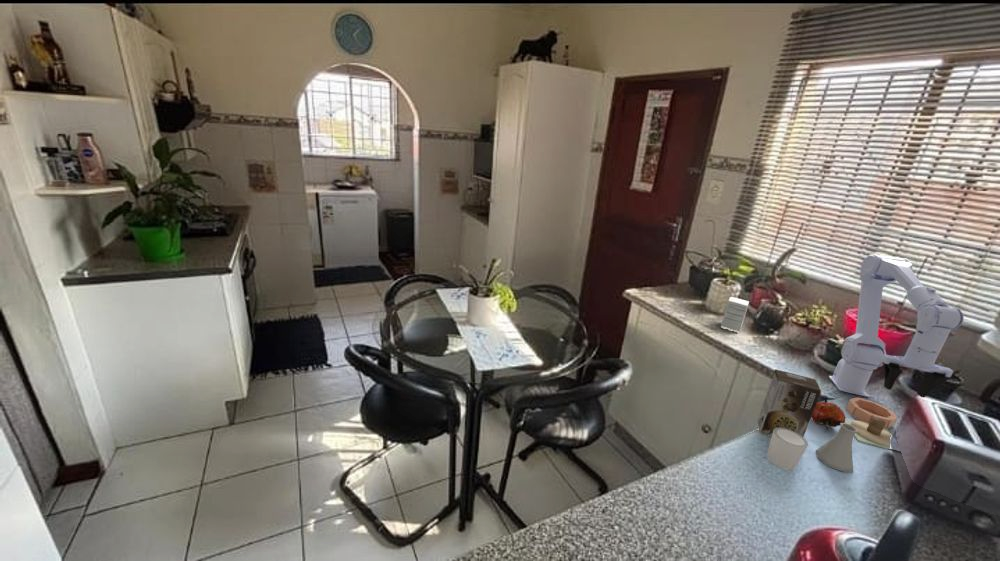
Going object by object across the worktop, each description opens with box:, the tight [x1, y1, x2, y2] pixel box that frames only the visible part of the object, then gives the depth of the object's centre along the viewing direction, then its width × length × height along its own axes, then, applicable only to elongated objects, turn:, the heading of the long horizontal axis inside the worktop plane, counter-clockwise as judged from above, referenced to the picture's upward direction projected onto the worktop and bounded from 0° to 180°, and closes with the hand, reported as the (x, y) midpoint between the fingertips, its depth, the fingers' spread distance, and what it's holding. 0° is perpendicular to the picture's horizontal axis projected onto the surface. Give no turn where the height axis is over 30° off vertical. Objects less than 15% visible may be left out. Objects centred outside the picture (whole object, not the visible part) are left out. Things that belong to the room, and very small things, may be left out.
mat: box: [845, 417, 891, 450], centre depth 111 cm, size 10×10×1 cm
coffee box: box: [756, 369, 822, 438], centre depth 105 cm, size 9×6×16 cm
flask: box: [815, 423, 858, 473], centre depth 97 cm, size 7×7×10 cm
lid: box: [851, 417, 892, 446], centre depth 110 cm, size 9×9×4 cm
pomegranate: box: [811, 398, 846, 434], centre depth 112 cm, size 7×7×10 cm
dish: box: [845, 397, 898, 430], centre depth 119 cm, size 10×10×3 cm
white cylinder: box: [767, 428, 809, 471], centre depth 96 cm, size 7×7×7 cm
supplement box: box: [720, 296, 750, 332], centre depth 172 cm, size 7×7×13 cm
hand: (903, 391), depth 114 cm, fingers open, 7 cm apart
